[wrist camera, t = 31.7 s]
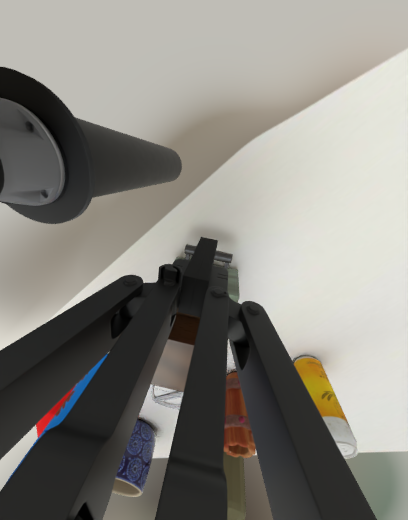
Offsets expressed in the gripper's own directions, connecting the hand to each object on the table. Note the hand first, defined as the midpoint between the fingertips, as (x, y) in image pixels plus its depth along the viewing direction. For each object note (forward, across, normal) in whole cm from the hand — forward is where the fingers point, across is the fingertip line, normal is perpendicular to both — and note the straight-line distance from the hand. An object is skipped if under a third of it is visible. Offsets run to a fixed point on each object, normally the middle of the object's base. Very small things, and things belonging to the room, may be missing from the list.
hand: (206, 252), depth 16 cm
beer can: (+16, +27, -29) cm, 43 cm away
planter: (+16, -13, -83) cm, 86 cm away
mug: (+16, +16, -39) cm, 45 cm away
